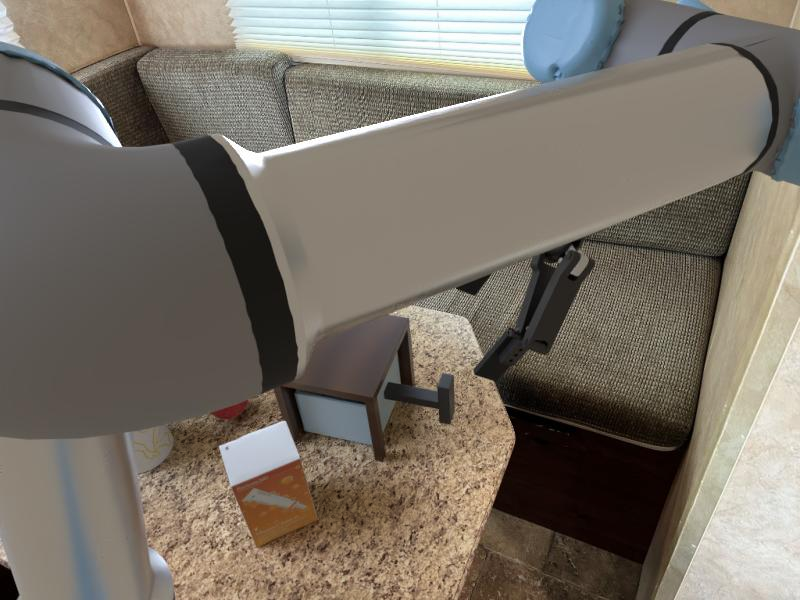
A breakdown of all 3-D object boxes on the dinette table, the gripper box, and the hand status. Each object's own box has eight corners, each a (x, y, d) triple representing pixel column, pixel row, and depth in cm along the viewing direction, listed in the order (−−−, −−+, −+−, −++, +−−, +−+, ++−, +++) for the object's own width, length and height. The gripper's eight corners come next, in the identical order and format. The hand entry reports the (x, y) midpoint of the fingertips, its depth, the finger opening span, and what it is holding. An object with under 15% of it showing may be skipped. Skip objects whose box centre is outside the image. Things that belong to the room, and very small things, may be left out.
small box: (256, 549, 73) (229, 487, 65) (244, 507, 78) (216, 444, 69) (320, 521, 75) (301, 457, 67) (304, 481, 80) (284, 418, 72)
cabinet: (415, 381, 92) (409, 317, 84) (383, 462, 81) (372, 397, 73) (330, 366, 96) (316, 303, 88) (289, 441, 85) (269, 377, 77)
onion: (233, 436, 87) (218, 399, 82) (205, 421, 89) (189, 384, 84) (261, 409, 90) (248, 371, 85) (234, 394, 93) (220, 358, 88)
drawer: (462, 399, 88) (461, 352, 82) (443, 461, 80) (440, 414, 74) (334, 375, 94) (324, 330, 88) (304, 431, 86) (291, 385, 80)
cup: (150, 480, 82) (117, 423, 74) (102, 466, 84) (65, 410, 77) (184, 433, 88) (157, 376, 80) (138, 421, 90) (107, 365, 83)
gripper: (683, 275, 48) (526, 429, 59) (587, 132, 66) (483, 271, 78) (611, 242, 45) (461, 410, 57) (532, 103, 64) (432, 251, 75)
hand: (473, 330), depth 67 cm, fingers open, 13 cm apart
